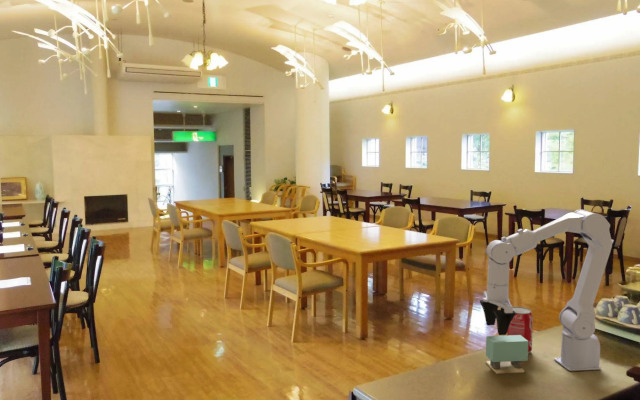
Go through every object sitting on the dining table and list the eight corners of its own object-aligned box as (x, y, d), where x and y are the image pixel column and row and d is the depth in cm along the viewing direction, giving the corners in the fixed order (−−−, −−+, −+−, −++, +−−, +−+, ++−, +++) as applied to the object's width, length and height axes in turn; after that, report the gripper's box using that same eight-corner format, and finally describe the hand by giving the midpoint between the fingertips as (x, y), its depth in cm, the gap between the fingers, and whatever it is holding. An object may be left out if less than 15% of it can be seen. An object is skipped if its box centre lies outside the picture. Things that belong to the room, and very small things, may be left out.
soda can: (533, 356, 152) (535, 314, 151) (508, 355, 154) (509, 312, 152) (529, 347, 159) (530, 306, 158) (504, 345, 160) (506, 305, 159)
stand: (512, 361, 149) (512, 351, 148) (524, 372, 142) (524, 361, 142) (485, 362, 148) (486, 352, 148) (496, 373, 141) (496, 363, 141)
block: (492, 362, 141) (493, 342, 141) (485, 355, 146) (486, 336, 145) (527, 360, 142) (528, 341, 142) (519, 353, 147) (520, 334, 146)
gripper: (474, 277, 152) (472, 321, 154) (495, 290, 138) (493, 339, 139) (496, 276, 153) (495, 320, 154) (520, 290, 138) (518, 338, 140)
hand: (496, 329), depth 147 cm, fingers open, 7 cm apart
